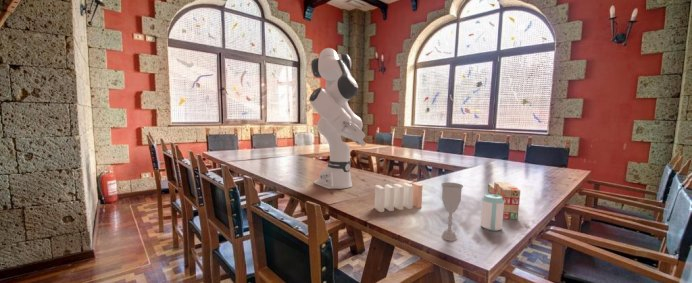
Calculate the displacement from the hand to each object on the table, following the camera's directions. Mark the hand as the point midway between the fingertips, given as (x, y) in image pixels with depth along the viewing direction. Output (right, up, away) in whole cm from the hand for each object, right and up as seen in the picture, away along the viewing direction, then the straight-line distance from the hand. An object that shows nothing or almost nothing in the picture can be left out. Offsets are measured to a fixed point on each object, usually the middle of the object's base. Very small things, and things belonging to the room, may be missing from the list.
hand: (361, 144), depth 127 cm
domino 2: (+12, -28, 0) cm, 30 cm away
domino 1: (+7, -28, -1) cm, 29 cm away
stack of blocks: (+60, -29, +1) cm, 67 cm away
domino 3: (+16, -28, +2) cm, 32 cm away
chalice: (+28, -31, -28) cm, 50 cm away
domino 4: (+20, -28, +3) cm, 34 cm away
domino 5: (+24, -27, +4) cm, 37 cm away
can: (+46, -31, -19) cm, 59 cm away
